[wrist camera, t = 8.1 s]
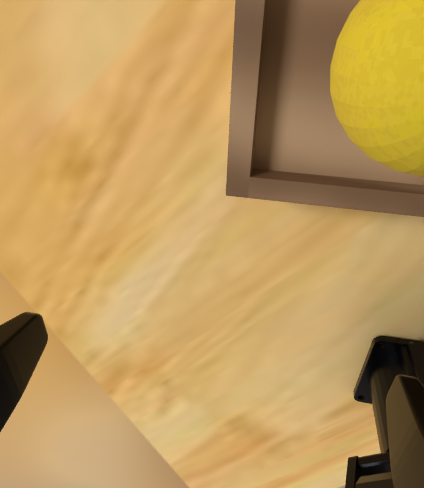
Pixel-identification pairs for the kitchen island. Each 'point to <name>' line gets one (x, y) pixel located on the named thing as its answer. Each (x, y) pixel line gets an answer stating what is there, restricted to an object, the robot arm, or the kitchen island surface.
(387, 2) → the lemon
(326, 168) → the walnut base
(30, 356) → the robot arm
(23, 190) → the kitchen island surface
